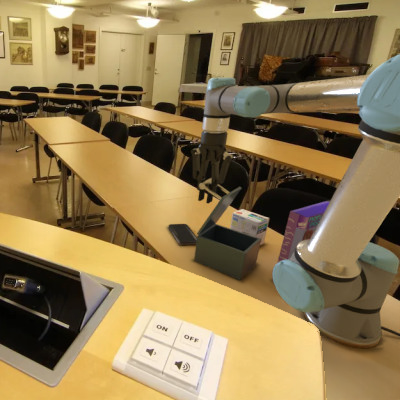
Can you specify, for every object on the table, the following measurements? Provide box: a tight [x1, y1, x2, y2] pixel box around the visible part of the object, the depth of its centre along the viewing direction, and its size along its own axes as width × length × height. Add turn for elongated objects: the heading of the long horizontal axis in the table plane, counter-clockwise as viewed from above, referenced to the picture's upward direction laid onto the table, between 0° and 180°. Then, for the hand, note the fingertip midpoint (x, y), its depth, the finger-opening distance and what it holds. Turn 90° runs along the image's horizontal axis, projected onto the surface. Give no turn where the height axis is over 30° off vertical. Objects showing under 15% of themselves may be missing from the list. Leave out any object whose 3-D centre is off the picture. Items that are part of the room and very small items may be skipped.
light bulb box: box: [229, 208, 270, 246], centre depth 120 cm, size 11×7×11 cm, turn 32°
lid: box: [196, 177, 243, 236], centre depth 107 cm, size 16×13×10 cm
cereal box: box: [277, 199, 331, 263], centre depth 95 cm, size 17×5×24 cm, turn 114°
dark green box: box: [193, 223, 261, 281], centre depth 107 cm, size 16×13×10 cm
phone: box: [168, 223, 197, 246], centre depth 127 cm, size 8×1×15 cm
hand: (205, 200), depth 108 cm, fingers closed on lid, 2 cm apart
